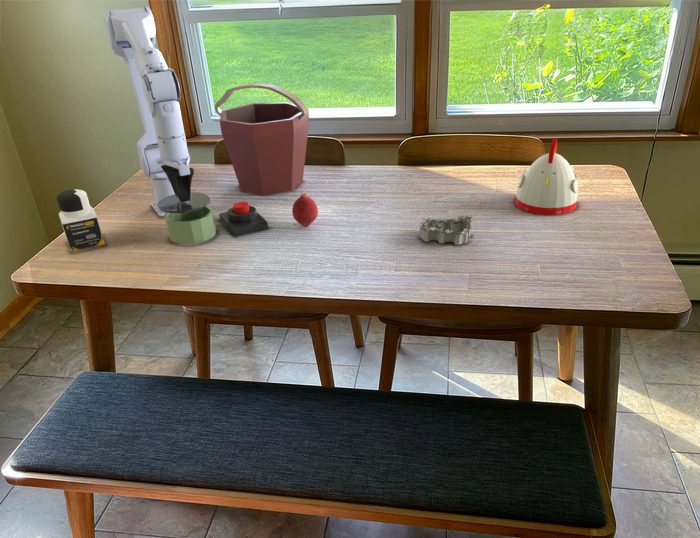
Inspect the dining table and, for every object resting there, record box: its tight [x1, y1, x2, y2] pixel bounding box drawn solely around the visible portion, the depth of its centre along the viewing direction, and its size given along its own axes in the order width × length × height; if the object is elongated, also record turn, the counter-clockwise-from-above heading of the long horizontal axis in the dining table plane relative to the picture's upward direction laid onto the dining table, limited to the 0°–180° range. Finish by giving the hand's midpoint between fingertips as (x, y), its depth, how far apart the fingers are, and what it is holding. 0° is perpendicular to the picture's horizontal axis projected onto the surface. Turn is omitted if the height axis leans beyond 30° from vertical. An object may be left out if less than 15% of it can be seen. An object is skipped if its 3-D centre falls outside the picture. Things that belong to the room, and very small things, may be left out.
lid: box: [158, 191, 211, 213], centre depth 133 cm, size 11×11×5 cm
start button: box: [232, 201, 250, 214], centre depth 141 cm, size 4×4×2 cm
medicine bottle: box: [56, 188, 105, 252], centre depth 134 cm, size 7×7×12 cm
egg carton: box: [418, 215, 473, 246], centre depth 132 cm, size 11×8×4 cm
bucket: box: [214, 82, 310, 196], centre depth 159 cm, size 24×22×25 cm
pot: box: [164, 205, 217, 245], centre depth 137 cm, size 10×10×6 cm
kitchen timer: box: [515, 138, 579, 216], centre depth 142 cm, size 14×14×15 cm
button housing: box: [218, 205, 269, 237], centre depth 142 cm, size 11×8×4 cm
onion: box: [291, 191, 319, 228], centre depth 139 cm, size 6×6×8 cm
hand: (183, 199), depth 134 cm, fingers closed on lid, 2 cm apart
